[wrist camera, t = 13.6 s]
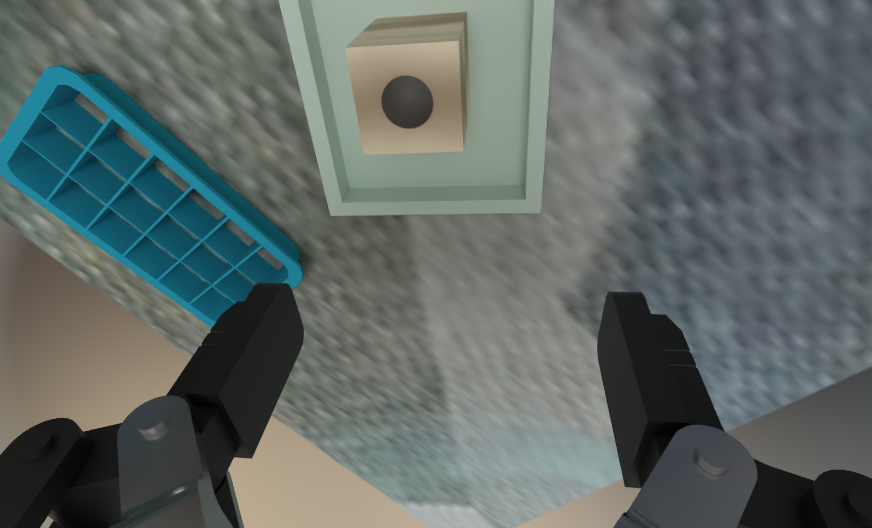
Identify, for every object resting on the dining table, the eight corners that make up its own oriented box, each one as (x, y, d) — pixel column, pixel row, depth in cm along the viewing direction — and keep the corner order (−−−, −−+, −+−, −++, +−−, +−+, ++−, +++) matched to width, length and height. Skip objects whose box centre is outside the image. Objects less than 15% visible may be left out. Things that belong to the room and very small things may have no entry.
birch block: (376, 18, 26) (344, 48, 21) (466, 11, 26) (458, 41, 20) (388, 107, 29) (363, 155, 24) (469, 104, 29) (463, 152, 23)
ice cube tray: (238, 313, 44) (223, 336, 41) (20, 148, 35) (-15, 165, 33) (321, 253, 39) (310, 276, 36) (88, 43, 30) (53, 55, 28)
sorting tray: (272, -123, 24) (248, -126, 22) (557, -154, 22) (565, -161, 20) (342, 194, 35) (330, 215, 32) (537, 190, 33) (541, 212, 30)
